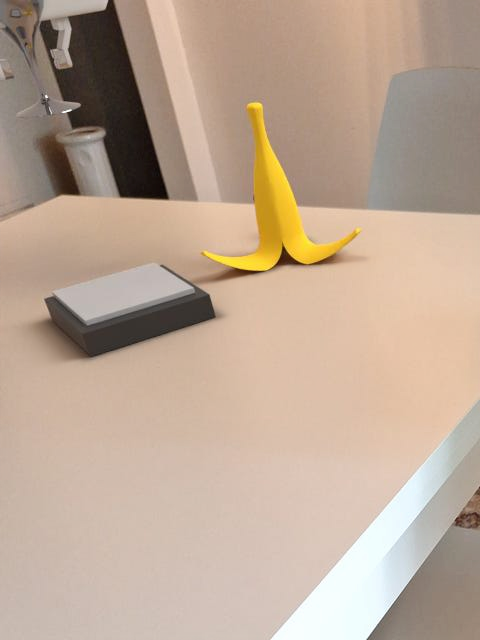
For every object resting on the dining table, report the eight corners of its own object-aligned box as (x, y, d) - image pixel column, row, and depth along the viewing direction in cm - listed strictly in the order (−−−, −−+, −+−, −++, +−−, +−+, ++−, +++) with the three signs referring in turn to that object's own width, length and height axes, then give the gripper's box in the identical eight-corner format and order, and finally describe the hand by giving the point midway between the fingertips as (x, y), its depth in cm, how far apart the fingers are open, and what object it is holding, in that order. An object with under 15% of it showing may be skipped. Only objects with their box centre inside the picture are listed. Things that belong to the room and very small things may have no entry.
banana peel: (204, 282, 109) (160, 124, 98) (281, 230, 122) (250, 85, 111) (328, 288, 104) (297, 122, 93) (395, 233, 117) (374, 82, 106)
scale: (90, 357, 95) (79, 327, 93) (52, 320, 104) (41, 293, 102) (216, 317, 100) (208, 288, 98) (169, 285, 109) (161, 258, 107)
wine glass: (98, 100, 106) (46, -62, 97) (57, 117, 101) (-1, -54, 91) (40, 103, 108) (-16, -55, 99) (-3, 120, 103) (-67, -47, 93)
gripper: (71, -96, 99) (115, 54, 108) (-131, -71, 91) (-65, 89, 100) (89, -98, 95) (134, 58, 104) (-120, -72, 87) (-52, 95, 96)
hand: (35, 73), depth 102 cm, fingers closed on wine glass, 5 cm apart
